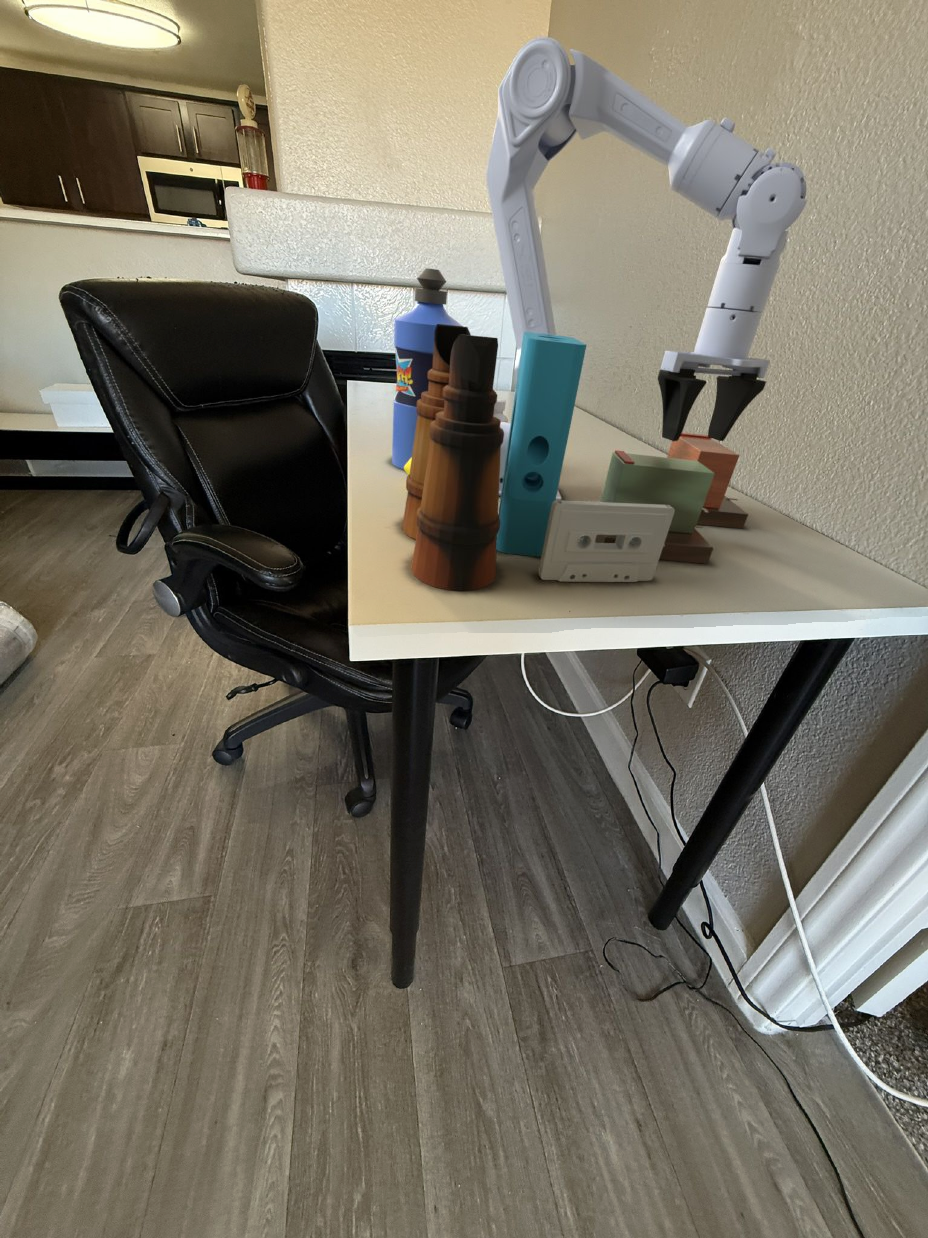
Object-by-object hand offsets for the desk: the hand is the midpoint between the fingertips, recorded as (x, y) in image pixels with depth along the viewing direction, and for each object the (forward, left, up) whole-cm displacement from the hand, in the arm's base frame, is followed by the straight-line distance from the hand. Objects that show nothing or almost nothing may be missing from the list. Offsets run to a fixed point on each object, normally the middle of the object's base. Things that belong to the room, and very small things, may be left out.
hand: (693, 438), depth 64 cm
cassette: (-14, -20, -11) cm, 26 cm away
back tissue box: (+4, +5, -8) cm, 11 cm away
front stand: (-6, -8, -10) cm, 14 cm away
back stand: (+4, +5, -10) cm, 12 cm away
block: (-21, -12, -11) cm, 26 cm away
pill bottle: (-24, +18, -11) cm, 32 cm away
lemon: (-32, +2, -11) cm, 34 cm away
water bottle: (-34, +14, -11) cm, 38 cm away
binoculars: (-29, -16, -11) cm, 35 cm away
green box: (-6, -8, -8) cm, 13 cm away
